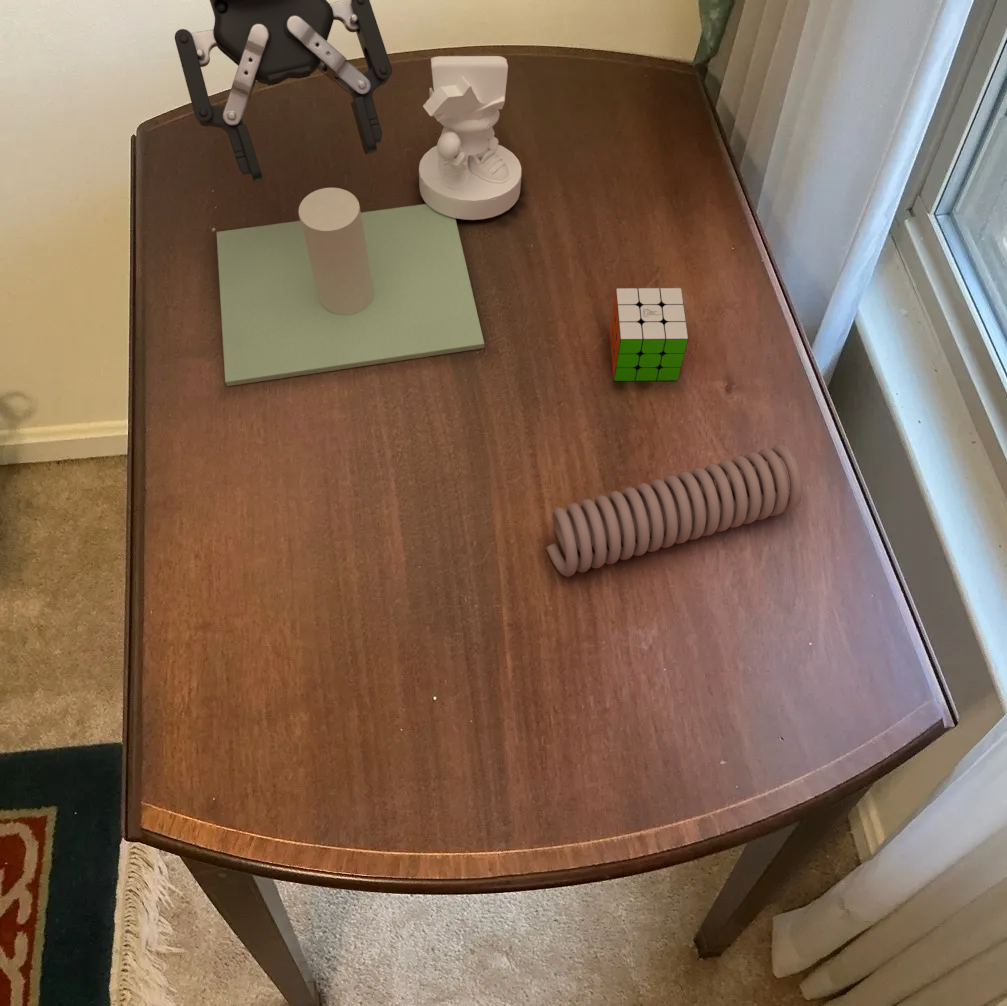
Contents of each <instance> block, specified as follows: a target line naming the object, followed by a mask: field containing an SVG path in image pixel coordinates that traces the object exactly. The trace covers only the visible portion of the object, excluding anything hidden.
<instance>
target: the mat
mask: <svg viewBox="0 0 1007 1006" xmlns="http://www.w3.org/2000/svg"><path fill="white" fill-rule="evenodd" d="M361 218H362V224H363V230H364V236H365V242H366V248H367V253H368V259H369V265H370V271H371V277H372V283H373V289H374V295H373V299H372V301H371V302H370V304H369V305H368V306H367V307H366V308H365V309H363V310H361V311H360V312H357V313H354V314H350V315H338V314H334V313H332V312H329V311H328V310H326V309H325V308H324V307H323V306H322V304H321V303H320V300H319V296H318V292H317V288H316V284H315V279H314V275H313V271H312V267H311V263H310V259H309V255H308V250H307V246H306V242H305V238H304V234H303V230H302V226H301V221H300V220H296V221H288V222H281V223H280V222H279V223H274V224H273V223H272V224H265V225H259V226H252V227H251V226H250V227H244V228H236V229H229V230H222V231H221V230H220V231H216V248H217V249H216V251H217V264H218V265H217V267H218V282H219V300H220V301H219V302H220V318H221V335H222V353H223V367H224V372H223V373H224V383H225V385H226V387H231V386H232V387H233V386H240V385H247V384H253V383H259V382H264V381H266V382H267V381H273V380H279V379H280V380H281V379H286V378H294V377H300V376H306V375H312V374H319V373H327V372H333V371H340V370H346V369H352V368H353V369H354V368H362V367H368V366H372V365H373V366H374V365H380V364H387V363H393V362H401V361H408V360H414V359H420V358H427V357H433V356H435V357H436V356H442V355H447V354H455V353H461V352H468V351H475V350H481V349H482V350H483V349H485V340H484V336H483V331H482V327H481V323H480V318H479V314H478V310H477V305H476V300H475V297H474V292H473V288H472V283H471V279H470V276H469V270H468V267H467V266H468V265H467V262H466V257H465V252H464V249H463V244H462V240H461V236H460V231H459V227H458V223H457V218H453V217H449V216H446V215H443V214H441V213H439V212H437V211H435V210H434V209H432V208H431V207H430V206H429V205H428V204H427V203H421V204H416V205H408V206H407V205H406V206H400V207H393V208H386V209H378V210H370V211H364V212H361Z"/></svg>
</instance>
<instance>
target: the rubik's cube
mask: <svg viewBox="0 0 1007 1006" xmlns="http://www.w3.org/2000/svg"><path fill="white" fill-rule="evenodd" d="M609 342H610V355H611V365H612V366H611V367H612V378H613V382H624V381H625V382H644V381H645V382H648V381H650V382H651V381H652V382H656V381H657V382H658V381H660V382H661V381H667V382H668V381H671V382H672V381H678V380H679V377H680V373H681V369H682V365H683V362H684V358H685V354H686V350H687V346H688V342H689V332H688V325H687V319H686V312H685V303H684V296H683V288H682V287H616V288H615V292H614V298H613V305H612V312H611V319H610V325H609Z"/></svg>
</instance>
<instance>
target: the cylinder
mask: <svg viewBox="0 0 1007 1006" xmlns="http://www.w3.org/2000/svg"><path fill="white" fill-rule="evenodd" d="M361 213H362V212H361V206H360V202H359V200H358V199H357V197H356V196H355V195H354V194H353V193H352V192H350V191H348V190H346V189H343V188H339V187H323V188H319V189H316V190H314V191H312V192H310V193H308V194H307V195H305V197H304V198H303V199H302V200H301V201H300V203H299V206H298V217H299V221H301V226H302V230H303V234H304V238H305V242H306V246H307V250H308V255H309V259H310V263H311V267H312V271H313V275H314V279H315V284H316V288H317V292H318V296H319V300H320V303H321V304H322V306H323V307H324V308H325V309H326V310H328V311H329V312H332V313H334V314H338V315H350V314H354V313H357V312H360V311H361V310H363V309H365V308H366V307H367V306H368V305H369V304H370V302H371V301H372V299H373V295H374V289H373V283H372V277H371V271H370V265H369V259H368V253H367V248H366V242H365V236H364V230H363V224H362V218H361Z"/></svg>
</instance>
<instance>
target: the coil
mask: <svg viewBox="0 0 1007 1006" xmlns="http://www.w3.org/2000/svg"><path fill="white" fill-rule="evenodd" d="M783 463H784V465H783ZM785 467H786V468H785ZM786 470H787V472H786ZM741 472H742V474H741ZM787 474H788V475H787ZM788 478H789V479H788ZM715 483H716V484H715ZM716 486H717V487H716ZM789 487H790V488H789ZM717 490H718V492H717ZM703 492H704V493H703ZM718 493H719V495H720V498H719V495H718ZM733 494H734V496H733ZM704 495H705V496H704ZM802 495H803V479H802V472H801V470H800V466H799V463H798V461H797V459H796V457H795V456H794V454H793V452H792V451H791V449H789V448H788V447H787V446H785V445H783V444H776V445H775V444H774V446H773V447H771V449H770V448H768V447H767V448H762V449H760V450H759V451H758V452H754V451H751V452H748V453H746V454H745V455H744V456H742V455H737V456H734V457H733V458H732V459H731V460H730V459H723V460H721V461H720V462H719V463H718V464H717V463H716V464H715V463H709V464H707V465H706V466H705V467H704V468H702V467H695V468H693V469H692V470H691V471H690V472H689V471H686V470H685V471H684V470H683V471H681V472H679V473H678V474H677V476H675V475H673V474H670V475H667V476H666V477H665V478H664V479H663V480H662V479H659V478H655V479H653V480H652V481H651V482H650V484H648V483H646V482H642V483H639V484H638V485H637V487H636V488H634V487H632V486H628V487H625V488H624V489H623V490H622V492H621V491H618V490H613V491H611V492H610V493H609V496H607V495H604V494H599V495H597V496H596V497H595V499H594V500H592V499H591V498H585V499H583V500H582V501H581V503H580V505H579V504H578V503H576V502H571V503H569V504H568V505H567V508H566V509H565V508H564V507H562V506H556V507H555V508H554V509H553V511H552V520H553V526H554V530H555V533H556V537H557V540H558V543H559V544H560V545H559V546H560V548H561V551H562V552H563V554H564V556H565V559H564V557H563V555H562V553H561V551H560V549H559V547H558V544H557V543H556V542H554V543H552V544H550V545H548V546H546V547H545V550H546V551H547V554H548V556H549V558H550V560H551V562H552V564H553V565H554V567H555V568H556V570H557V571H558V572H559V574H561V576H564V577H567V578H568V577H572V576H573V575H574V574H576V572H578V573H585V572H587V571H588V570H590V568H593V569H600V568H602V567H603V566H604V564H607V565H613V564H615V563H617V561H619V560H622V561H626V560H629V559H630V558H632V556H636V557H639V556H643V555H644V554H645V553H646V552H651V553H652V552H656V551H658V550H659V549H660V548H664V549H667V548H670V547H672V546H673V545H674V544H684V543H686V542H687V541H688V540H691V541H692V540H697V539H699V538H701V537H702V536H704V537H705V536H711V535H713V534H714V533H715V532H725V531H727V530H728V529H729V528H731V529H732V528H739V527H740V526H742V525H743V524H745V525H747V524H751V523H754V522H756V520H758V521H760V520H765V519H767V518H768V517H769V516H771V517H774V516H779V515H780V514H782V513H788V512H789V513H790V512H792V511H794V510H795V509H796V508H797V507H798V506H799V504H800V502H801V499H802ZM705 499H706V500H705ZM593 551H594V552H593ZM578 553H579V555H578Z"/></svg>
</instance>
